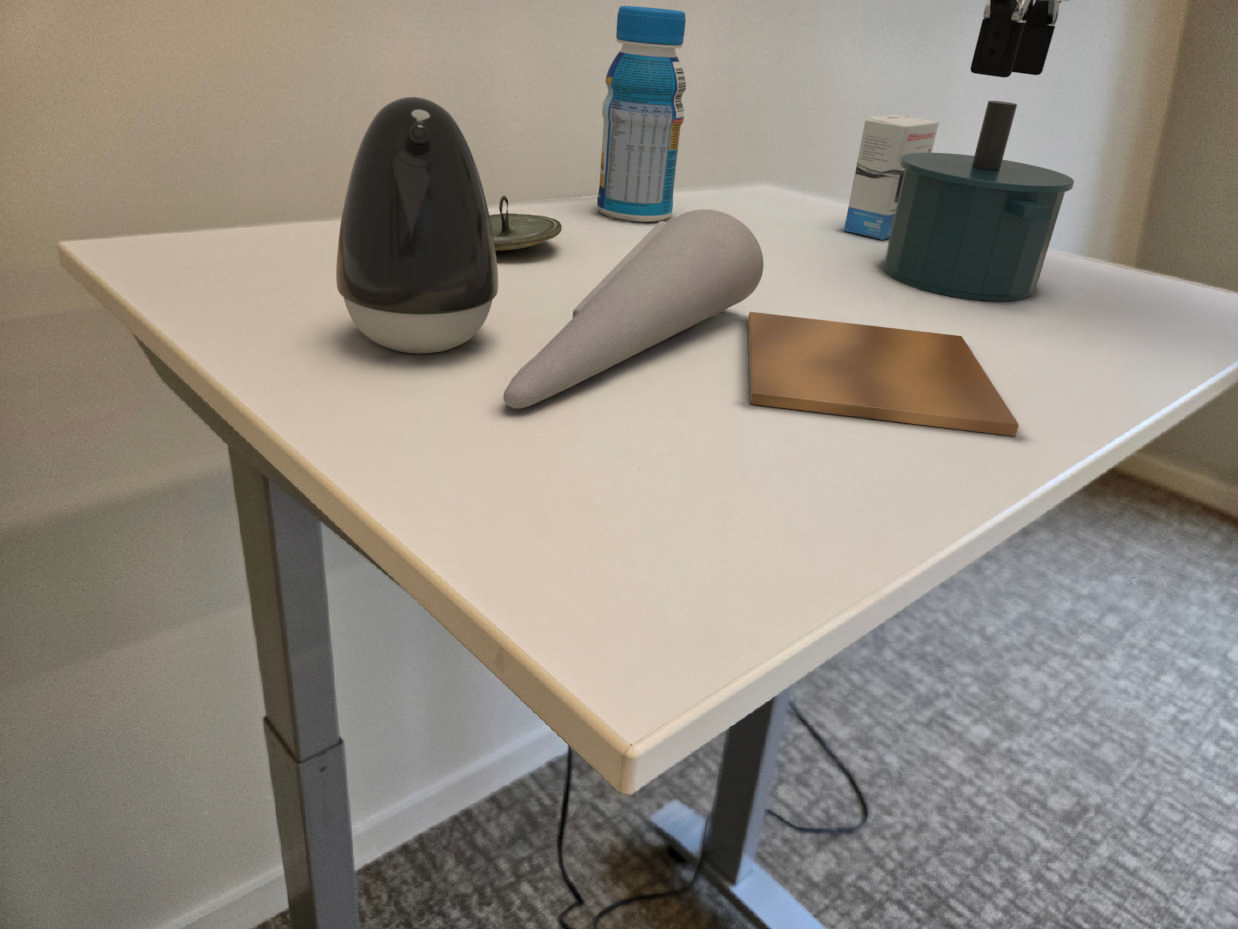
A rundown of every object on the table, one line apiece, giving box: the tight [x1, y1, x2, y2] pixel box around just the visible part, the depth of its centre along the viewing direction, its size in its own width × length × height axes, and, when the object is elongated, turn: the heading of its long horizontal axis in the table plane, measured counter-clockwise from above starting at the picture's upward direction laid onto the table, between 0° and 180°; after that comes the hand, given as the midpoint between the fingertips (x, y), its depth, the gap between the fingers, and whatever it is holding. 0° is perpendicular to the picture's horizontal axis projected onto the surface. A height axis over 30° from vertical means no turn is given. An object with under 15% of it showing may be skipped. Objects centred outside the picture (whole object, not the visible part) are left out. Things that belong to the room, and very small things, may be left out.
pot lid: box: [900, 100, 1075, 193], centre depth 81 cm, size 15×15×7 cm
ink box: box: [843, 114, 940, 240], centre depth 100 cm, size 8×5×12 cm, turn 139°
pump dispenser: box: [335, 96, 499, 355], centre depth 58 cm, size 10×10×15 cm
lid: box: [489, 195, 563, 252], centre depth 83 cm, size 11×10×5 cm
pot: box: [883, 169, 1066, 302], centre depth 85 cm, size 14×19×10 cm
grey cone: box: [503, 208, 764, 409], centre depth 61 cm, size 8×9×26 cm
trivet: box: [747, 311, 1020, 437], centre depth 63 cm, size 16×16×1 cm
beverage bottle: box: [596, 5, 687, 223], centre depth 95 cm, size 8×8×20 cm
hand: (1006, 73), depth 79 cm, fingers open, 9 cm apart
